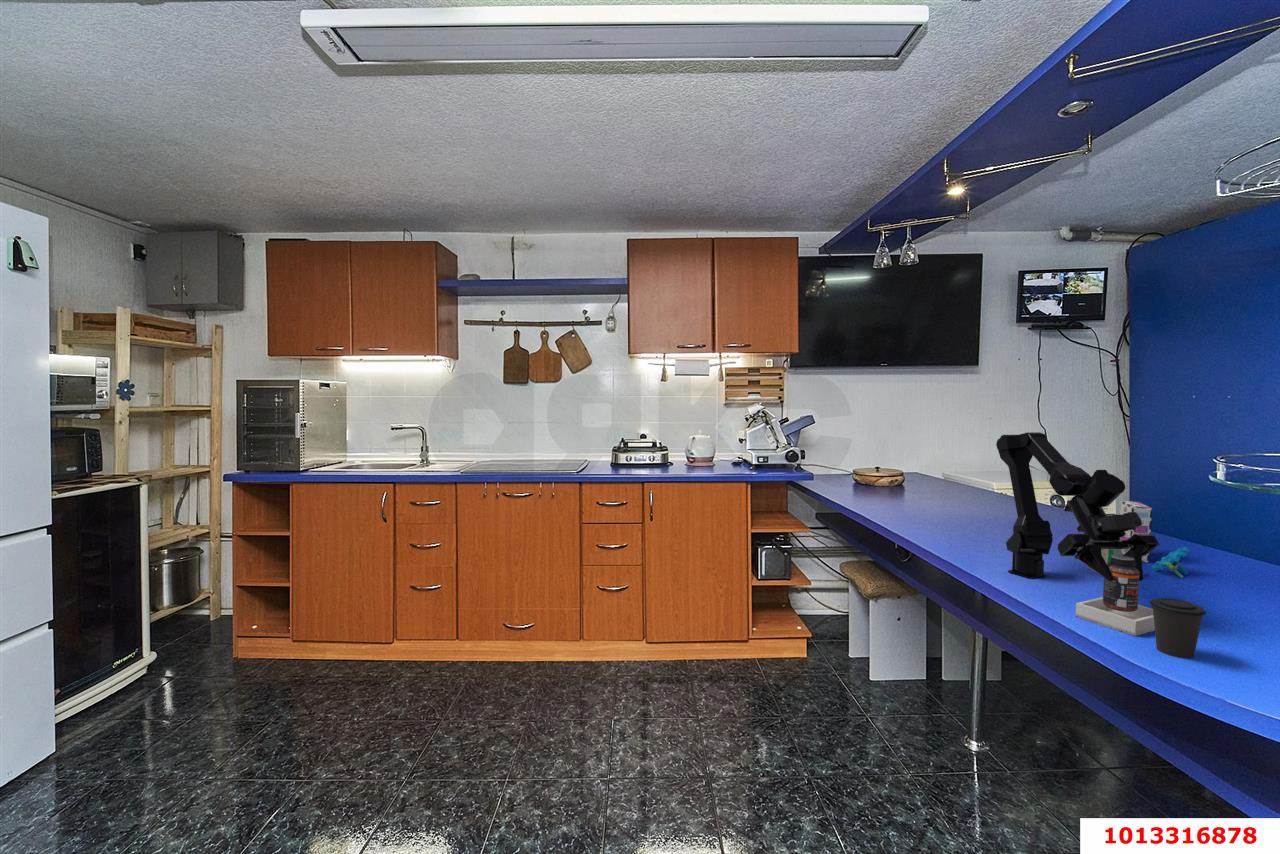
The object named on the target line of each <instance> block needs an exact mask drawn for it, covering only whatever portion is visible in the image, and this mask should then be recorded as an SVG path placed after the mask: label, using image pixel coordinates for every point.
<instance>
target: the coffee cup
mask: <svg viewBox="0 0 1280 854" xmlns="http://www.w3.org/2000/svg"><path fill="white" fill-rule="evenodd" d="M1149 605H1151V607H1152V609H1153V616H1154V626H1155V631H1154V633H1155V634H1154V635H1155V636H1154V637H1155V644H1156V650H1157V651H1158V652H1160V653H1163V654H1165V655H1167V656H1170V657H1175V658H1179V659H1193V658H1194V657H1195V654H1196V653H1195V652H1196V648H1197V644H1198V639H1199V634H1200V630H1201V625H1202V620H1203V616H1205V615H1207V611H1206V609H1204V607H1202V606H1201V605H1197V604H1195V603H1192V602H1190V601H1188V600H1183V599H1178V598H1172V597H1166V598H1165V597H1159V598H1158V597H1157V598H1152V599H1151V600H1150V601H1149Z"/></svg>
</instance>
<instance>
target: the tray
mask: <svg viewBox="0 0 1280 854" xmlns="http://www.w3.org/2000/svg"><path fill="white" fill-rule="evenodd" d="M1076 616H1077V617H1076ZM1075 617H1076V618H1078V617H1079V618H1078V619H1081V618H1082V619H1081V620H1084V621H1088V622H1090V623H1094V624H1097V625H1100V626H1102V627H1106V628H1109V629H1111V628H1112V629H1113V630H1114V631H1115V630H1116V631H1118V632H1121V631H1122V633H1123V634H1127V635H1130V634H1131V635H1130V636H1133V635H1134V636H1133V637H1137V635H1138V636H1141V634H1142V635H1144V634H1149V633H1153V632H1155V626H1154V616H1153V608H1151V607H1149V606H1143V605H1141V604H1138V608H1137V610H1136V611H1134V612H1123V611H1118V610H1114V609H1111V608H1108V607H1106V606H1105V605H1104V604H1103V596H1101V597H1097V598H1092V599H1088V600H1085V601H1084V600H1083V601H1080V602H1076V604H1075ZM1148 632H1149V633H1148Z"/></svg>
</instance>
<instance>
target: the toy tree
mask: <svg viewBox="0 0 1280 854" xmlns="http://www.w3.org/2000/svg"><path fill="white" fill-rule="evenodd" d="M1188 553H1190V549H1189V548H1188V547H1186V546H1183V547H1182V548H1181V547H1178V549H1176V550H1175V551H1171V552H1169V553H1168V554H1167V555H1164V556H1163V557H1161V558H1160V560H1157V561H1156V562H1155V563H1154V565H1151V569H1152V570H1153V571H1155V572H1157V571H1162V570H1164V569H1165V568H1167V569H1168V570H1169V572H1171V573H1172V572H1173V573H1174V574H1176V575H1177V576H1178V577H1179V578H1180V579H1182V578H1184V576H1186V575H1188V574H1189V572H1188V571H1187V570H1186V569H1185V568H1184V567H1183V566H1182V565H1181V564H1180V562H1179V561H1181V558H1184V557H1186V556H1187V555H1188ZM1177 569H1178V570H1177ZM1179 571H1180V572H1181V573H1182V574H1183V575H1184V574H1185V575H1184V576H1183V575H1182V574H1181V573H1180V572H1179Z"/></svg>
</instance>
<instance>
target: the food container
mask: <svg viewBox="0 0 1280 854" xmlns="http://www.w3.org/2000/svg"><path fill="white" fill-rule="evenodd" d="M1120 540H1123V539H1122V538H1120ZM1101 554H1102V556H1103V558H1104V560H1105V562H1106V564H1107V565H1108V564H1110V563H1111V561H1110V560H1111V556H1112V555H1122V552H1121V550H1120V549H1101ZM1086 568H1088V569H1089V570H1091V571H1093V572H1094V573H1097V574H1099V573H1098V572H1097V571H1095V570H1094V569H1093V568H1091V567H1090V566H1088V565H1087V564H1086ZM1099 575H1101V574H1099ZM1101 576H1102V575H1101Z"/></svg>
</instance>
